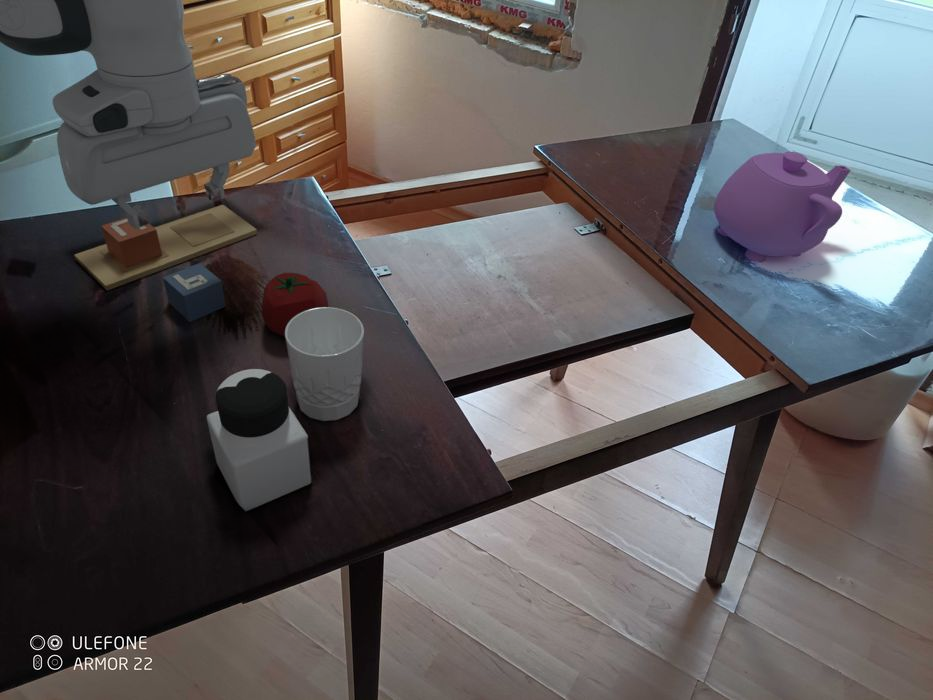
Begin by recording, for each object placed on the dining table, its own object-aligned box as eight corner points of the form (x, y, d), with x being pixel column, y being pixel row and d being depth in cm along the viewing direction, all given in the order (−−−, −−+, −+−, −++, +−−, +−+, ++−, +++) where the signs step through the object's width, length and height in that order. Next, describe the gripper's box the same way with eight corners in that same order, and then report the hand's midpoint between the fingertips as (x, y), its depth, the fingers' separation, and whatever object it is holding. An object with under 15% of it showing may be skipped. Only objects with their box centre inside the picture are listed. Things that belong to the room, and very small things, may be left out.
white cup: (300, 372, 79) (294, 303, 72) (369, 378, 79) (368, 310, 73) (284, 422, 73) (276, 352, 66) (358, 428, 73) (357, 359, 67)
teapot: (865, 272, 107) (915, 185, 98) (763, 288, 101) (806, 197, 91) (783, 209, 121) (819, 127, 111) (688, 220, 115) (718, 135, 105)
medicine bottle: (313, 484, 67) (305, 398, 60) (242, 514, 64) (224, 428, 56) (284, 436, 72) (273, 350, 64) (216, 463, 68) (196, 375, 60)
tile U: (108, 251, 92) (100, 225, 89) (144, 239, 95) (137, 213, 92) (126, 268, 89) (118, 241, 87) (162, 255, 92) (156, 228, 90)
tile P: (168, 303, 86) (162, 276, 83) (205, 288, 89) (199, 262, 86) (189, 322, 84) (183, 295, 81) (226, 306, 87) (221, 280, 84)
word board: (75, 259, 91) (73, 253, 91) (223, 209, 104) (222, 203, 103) (107, 290, 87) (105, 285, 86) (257, 234, 100) (256, 228, 99)
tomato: (268, 350, 81) (262, 302, 76) (258, 310, 87) (251, 263, 82) (335, 339, 84) (333, 291, 79) (321, 300, 89) (318, 254, 85)
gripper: (226, 61, 77) (243, 175, 86) (33, 102, 65) (76, 229, 74) (258, 78, 74) (272, 194, 83) (62, 124, 62) (104, 254, 71)
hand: (178, 211), depth 78 cm, fingers open, 8 cm apart
